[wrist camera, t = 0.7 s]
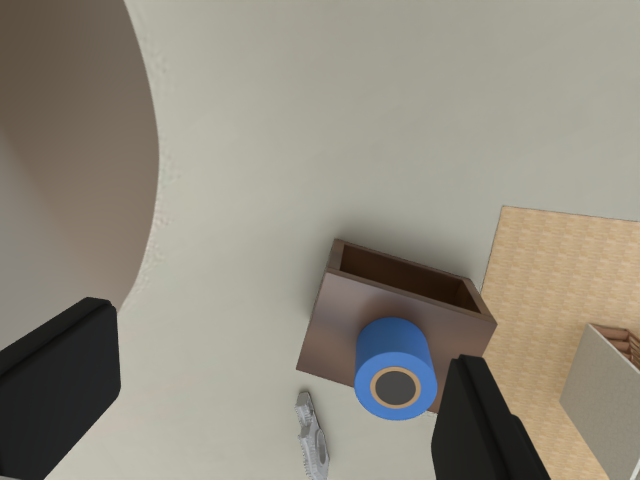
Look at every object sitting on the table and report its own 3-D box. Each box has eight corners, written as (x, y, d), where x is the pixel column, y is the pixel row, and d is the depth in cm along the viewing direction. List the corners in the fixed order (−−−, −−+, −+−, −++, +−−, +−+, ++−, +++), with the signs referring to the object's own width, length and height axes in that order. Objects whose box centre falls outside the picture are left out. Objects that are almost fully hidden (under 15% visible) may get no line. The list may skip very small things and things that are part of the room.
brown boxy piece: (334, 238, 45) (325, 271, 35) (470, 279, 44) (498, 324, 35) (309, 319, 48) (295, 369, 39) (435, 358, 48) (451, 418, 39)
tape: (368, 307, 36) (368, 342, 30) (438, 329, 36) (450, 367, 30) (347, 366, 38) (344, 408, 33) (413, 386, 38) (420, 432, 32)
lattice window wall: (297, 391, 52) (288, 424, 46) (310, 389, 52) (303, 422, 46) (320, 461, 55) (314, 501, 49) (332, 460, 55) (328, 500, 49)
